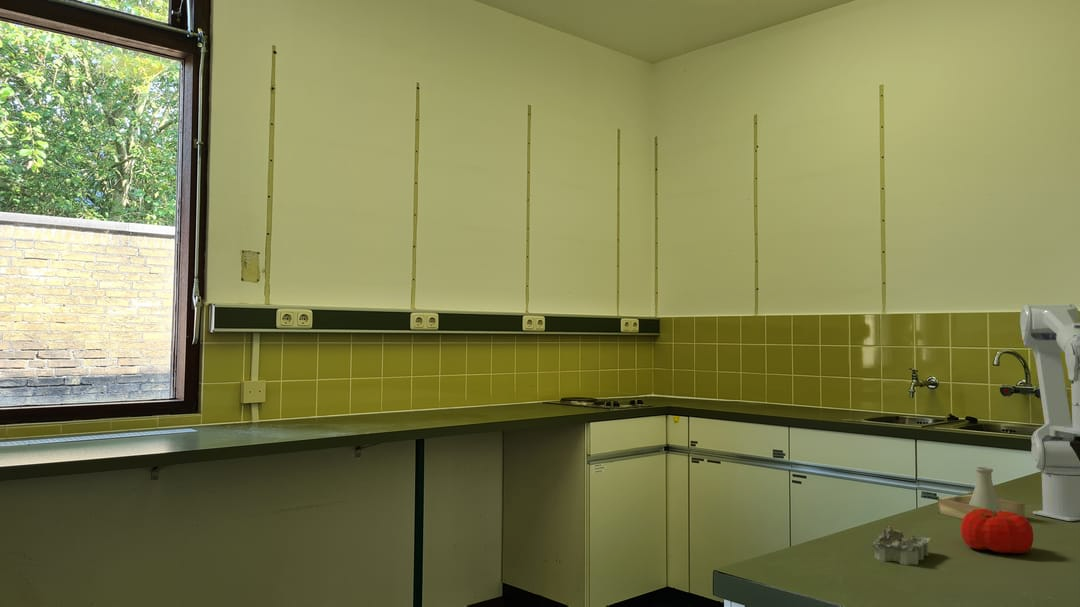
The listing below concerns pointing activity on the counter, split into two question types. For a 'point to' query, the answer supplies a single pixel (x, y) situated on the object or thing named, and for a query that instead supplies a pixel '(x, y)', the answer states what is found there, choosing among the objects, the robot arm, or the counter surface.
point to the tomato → (997, 531)
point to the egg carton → (900, 547)
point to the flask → (985, 491)
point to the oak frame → (961, 506)
